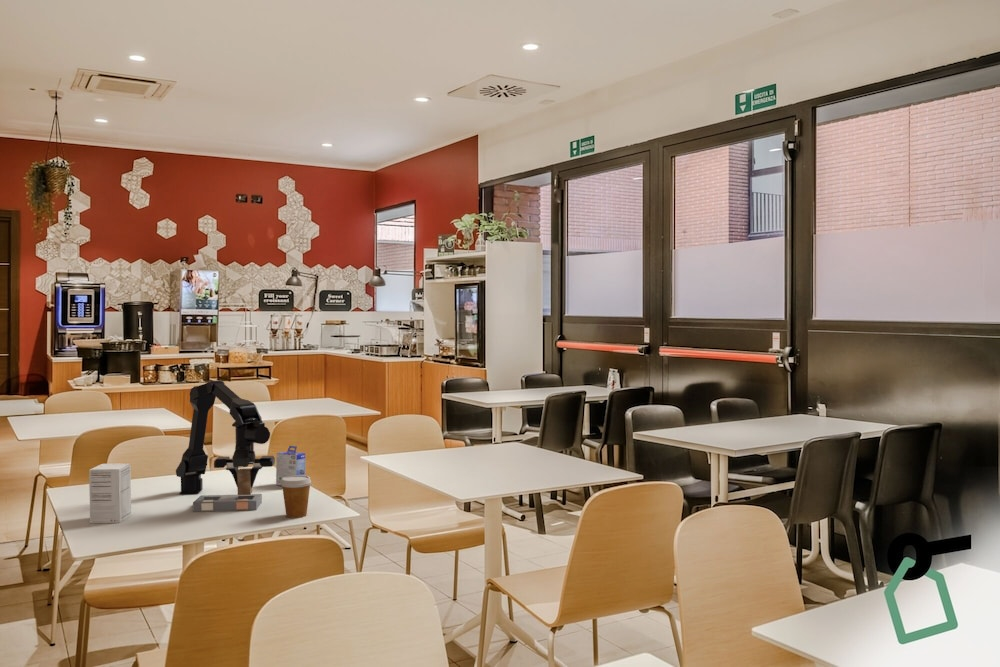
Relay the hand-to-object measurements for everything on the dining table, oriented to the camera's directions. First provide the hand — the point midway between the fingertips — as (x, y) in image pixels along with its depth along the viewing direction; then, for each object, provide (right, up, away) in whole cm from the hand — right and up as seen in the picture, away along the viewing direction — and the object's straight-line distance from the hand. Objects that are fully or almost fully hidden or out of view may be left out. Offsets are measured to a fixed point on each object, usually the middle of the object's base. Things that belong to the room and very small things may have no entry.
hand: (245, 487), depth 269 cm
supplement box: (-37, -7, -16) cm, 41 cm away
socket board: (-5, -6, 0) cm, 8 cm away
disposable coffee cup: (+20, -7, -12) cm, 24 cm away
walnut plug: (0, -2, 0) cm, 2 cm away
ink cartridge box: (+7, -6, +33) cm, 34 cm away
